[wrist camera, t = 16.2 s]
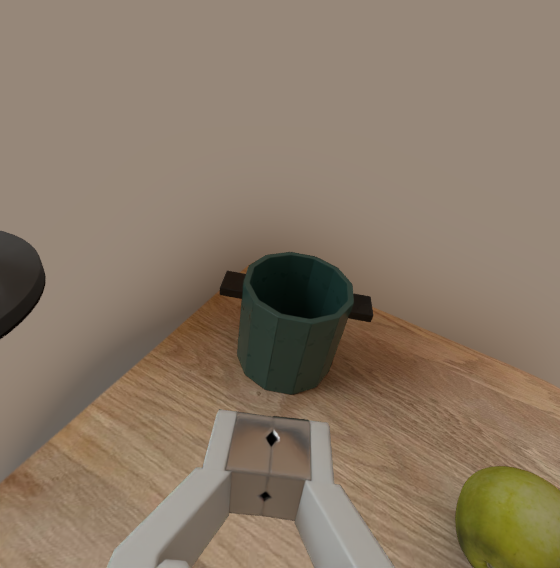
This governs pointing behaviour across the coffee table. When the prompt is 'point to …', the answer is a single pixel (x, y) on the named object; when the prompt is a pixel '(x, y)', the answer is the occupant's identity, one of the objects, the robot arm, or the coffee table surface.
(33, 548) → the coffee table surface
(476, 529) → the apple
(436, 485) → the coffee table surface
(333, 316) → the pot
